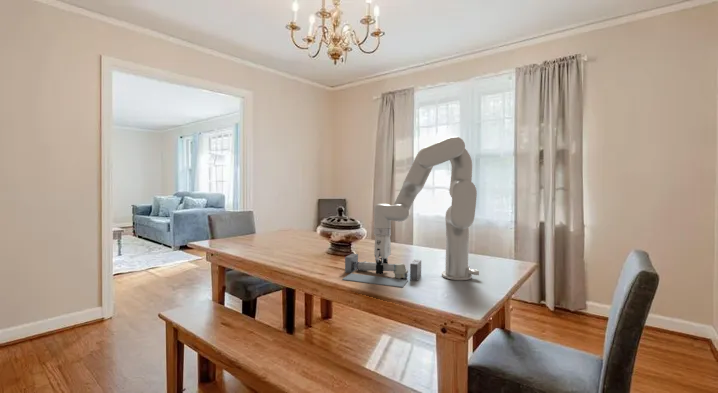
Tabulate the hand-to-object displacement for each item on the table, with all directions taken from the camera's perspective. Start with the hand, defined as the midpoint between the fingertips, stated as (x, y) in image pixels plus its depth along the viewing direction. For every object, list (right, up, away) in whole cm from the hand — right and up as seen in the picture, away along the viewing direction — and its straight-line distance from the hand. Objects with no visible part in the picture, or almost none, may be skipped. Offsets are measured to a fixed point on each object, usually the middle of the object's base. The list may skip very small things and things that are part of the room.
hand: (381, 271), depth 151 cm
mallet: (0, -2, 0) cm, 2 cm away
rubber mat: (-3, -2, -9) cm, 10 cm away
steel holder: (0, -1, 0) cm, 1 cm away
